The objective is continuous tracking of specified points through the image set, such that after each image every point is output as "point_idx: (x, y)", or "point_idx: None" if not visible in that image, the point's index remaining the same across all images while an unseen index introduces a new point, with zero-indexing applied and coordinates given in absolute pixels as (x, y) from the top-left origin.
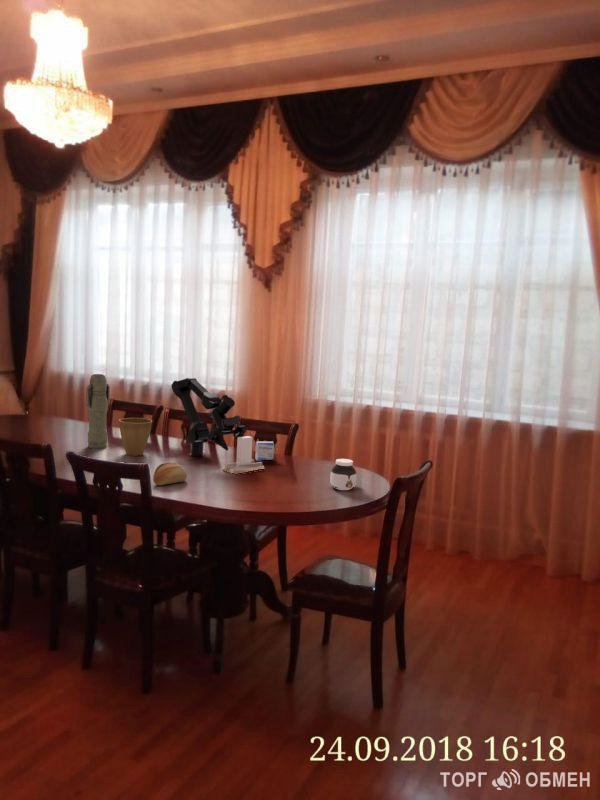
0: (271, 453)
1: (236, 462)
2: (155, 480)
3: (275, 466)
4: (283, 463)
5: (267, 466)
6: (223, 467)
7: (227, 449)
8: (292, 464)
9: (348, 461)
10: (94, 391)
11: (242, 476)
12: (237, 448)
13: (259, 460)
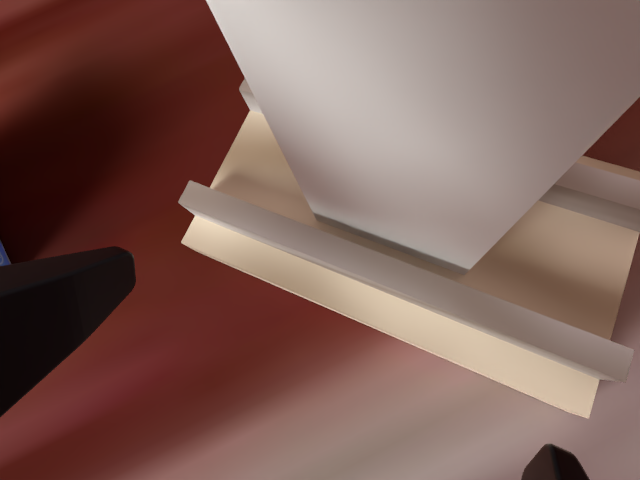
0: None
1: (477, 260)
2: None
3: (136, 71)
4: (23, 70)
5: (163, 118)
6: (590, 404)
7: (566, 464)
8: (30, 13)
9: None
10: None
11: (635, 118)
12: (561, 165)
13: (5, 255)
